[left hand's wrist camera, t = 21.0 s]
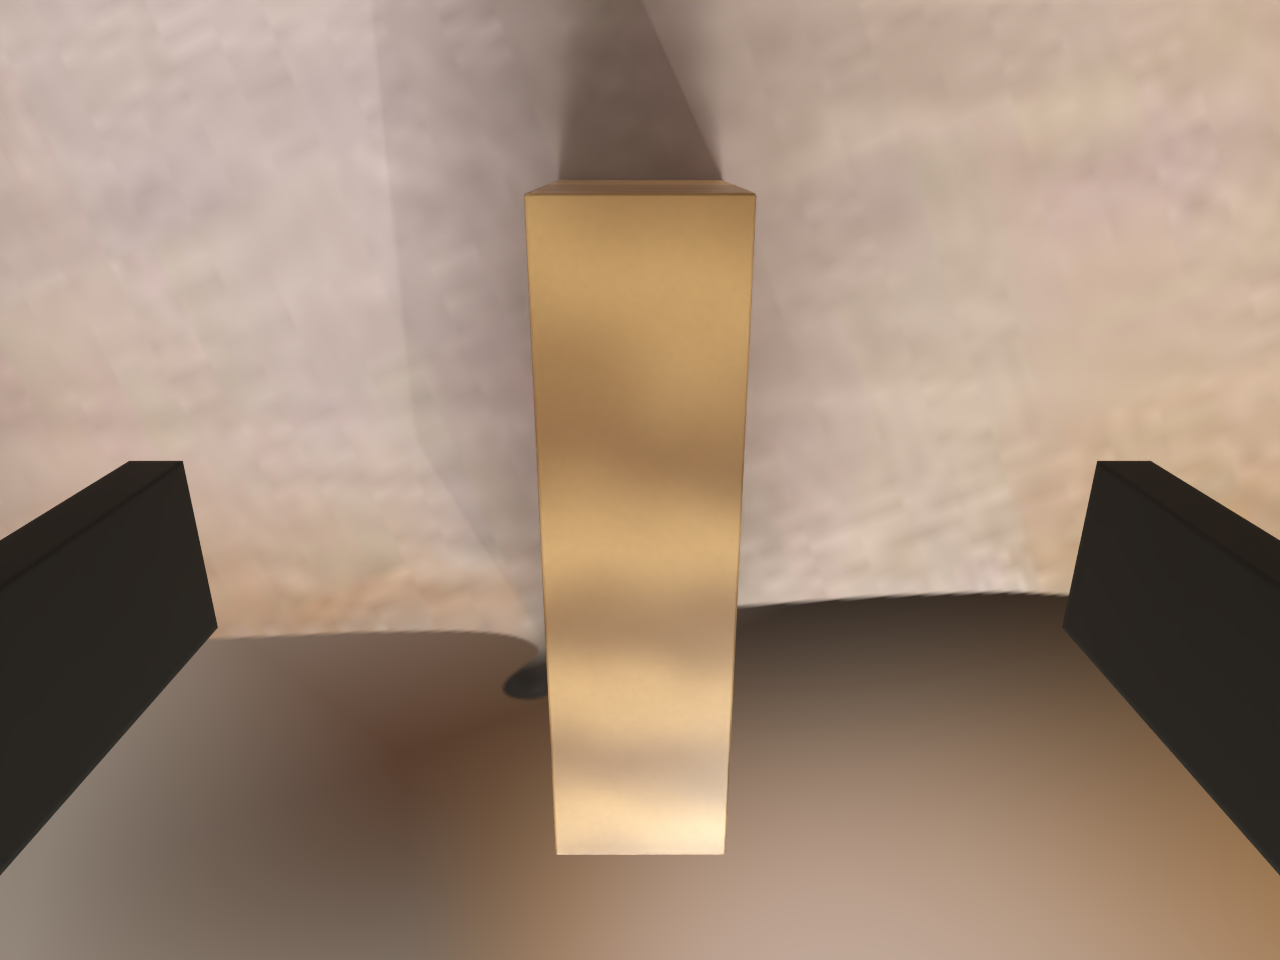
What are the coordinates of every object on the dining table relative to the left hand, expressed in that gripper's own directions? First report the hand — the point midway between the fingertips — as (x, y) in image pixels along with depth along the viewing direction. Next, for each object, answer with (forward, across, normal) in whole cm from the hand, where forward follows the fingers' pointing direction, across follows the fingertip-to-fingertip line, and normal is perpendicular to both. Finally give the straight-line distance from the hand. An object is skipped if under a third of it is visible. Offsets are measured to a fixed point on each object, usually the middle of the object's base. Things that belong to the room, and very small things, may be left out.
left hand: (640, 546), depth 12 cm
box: (+24, 0, -8) cm, 25 cm away
